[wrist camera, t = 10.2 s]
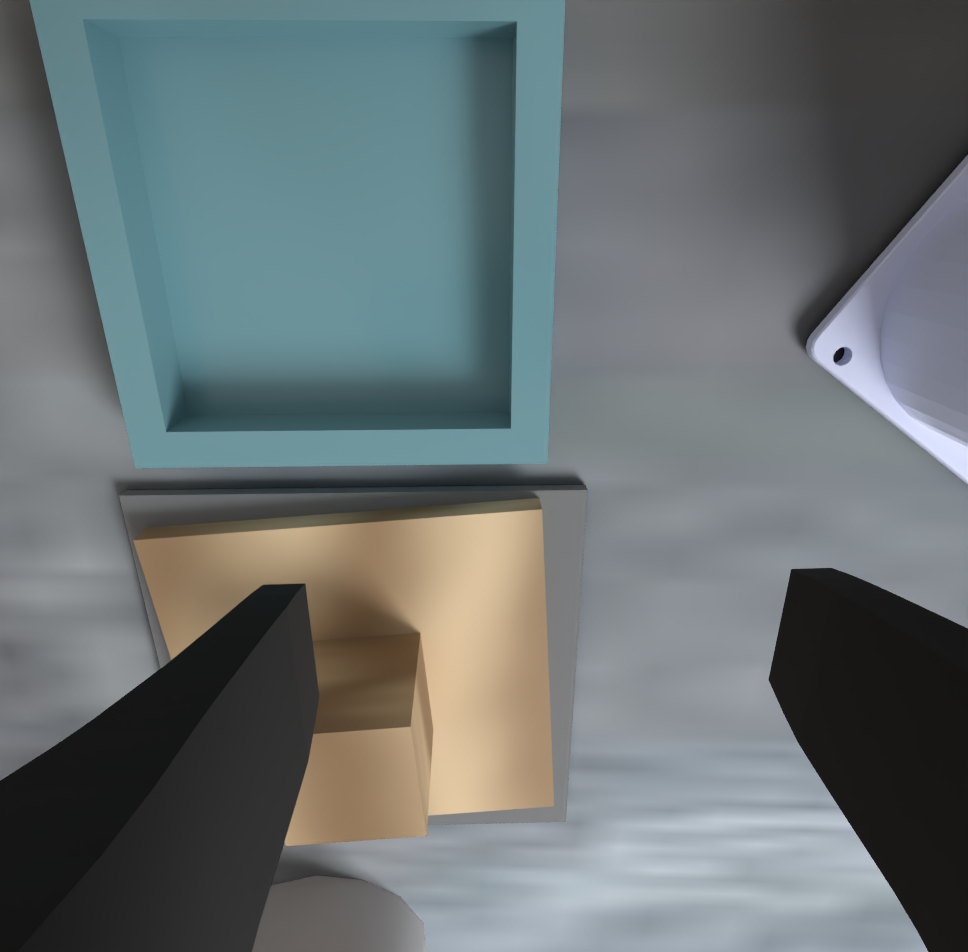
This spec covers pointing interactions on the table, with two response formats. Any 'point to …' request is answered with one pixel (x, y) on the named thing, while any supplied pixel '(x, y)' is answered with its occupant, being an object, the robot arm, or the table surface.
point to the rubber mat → (557, 502)
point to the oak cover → (391, 653)
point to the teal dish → (317, 222)
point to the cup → (337, 918)
